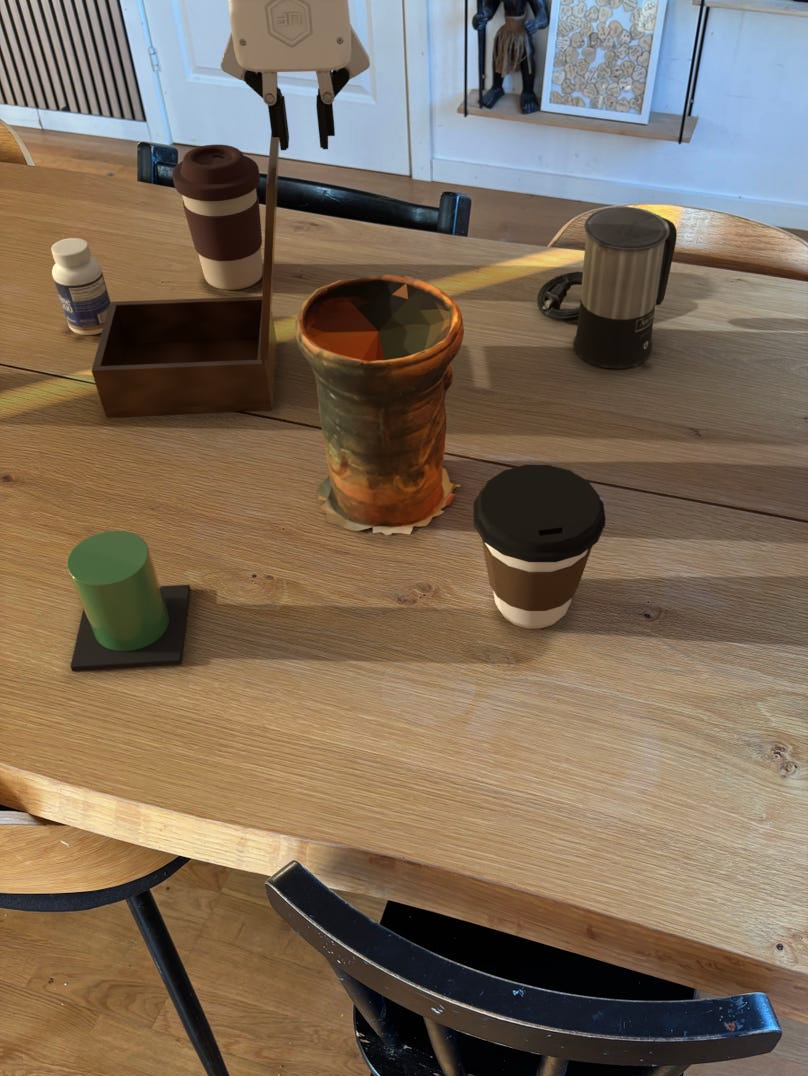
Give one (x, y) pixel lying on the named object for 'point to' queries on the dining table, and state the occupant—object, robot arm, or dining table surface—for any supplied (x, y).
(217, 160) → the coffee cup
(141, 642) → the green cylinder
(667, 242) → the milk frother
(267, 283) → the lid
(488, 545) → the coffee cup
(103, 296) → the pill bottle
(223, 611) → the dining table surface
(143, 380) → the chest
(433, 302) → the vessel
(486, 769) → the dining table surface
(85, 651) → the mat
